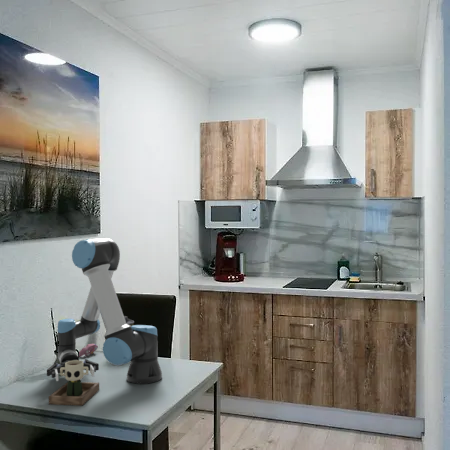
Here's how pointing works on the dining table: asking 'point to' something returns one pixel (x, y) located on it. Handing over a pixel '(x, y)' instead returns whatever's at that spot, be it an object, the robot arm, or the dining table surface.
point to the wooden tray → (62, 399)
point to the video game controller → (88, 350)
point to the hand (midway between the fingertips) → (75, 375)
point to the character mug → (74, 376)
